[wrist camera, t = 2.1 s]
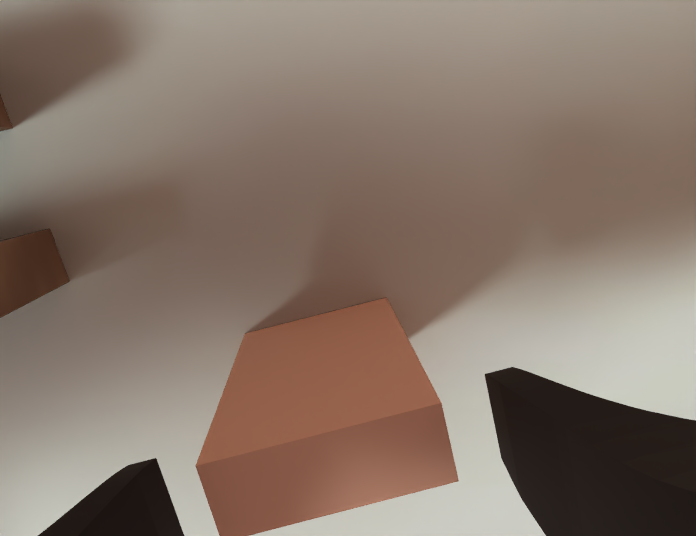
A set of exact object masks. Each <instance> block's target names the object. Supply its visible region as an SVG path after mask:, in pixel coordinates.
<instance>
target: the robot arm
mask: <svg viewBox="0 0 696 536" xmlns="http://www.w3.org/2000/svg"><path fill="white" fill-rule="evenodd" d="M485 378H486V383H487V388H488V393H489V398H490V403H491V408H492V413H493V418H494V423H495V428H496V433H497V438H498V443H499V448H500V453H501V458H502V460H503V462H504V464H505V466H506V468H507V470H508V473H509V475H510V477H511V479H512V481H513V483H514V485H515V487H516V489H517V491H518V493H519V495H520V497H521V498H522V500H523V501H524V503H525V505H526V506H527V508H528V509H529V511H530V512H531V514H532V515H533V517H534V518H535V520H536V521H537V523H538V524H539V526H540V527H541V529H542V530H543V532H544V533H545V535H546V536H696V421H695V420H689V419H683V418H678V417H674V416H669V415H664V414H659V413H655V412H650V411H646V410H642V409H638V408H634V407H630V406H626V405H623V404H620V403H616V402H613V401H609V400H606V399H603V398H599V397H596V396H593V395H590V394H587V393H584V392H581V391H578V390H576V389H573V388H570V387H567V386H565V385H562V384H559V383H556V382H554V381H551V380H548V379H546V378H543V377H541V376H538V375H535V374H532V373H530V372H527V371H524V370H521V369H518V368H514V367H511V368H507V369H503V370H499V371H495V372H491V373H487V374H485ZM38 536H184V534H183V531H182V529H181V526H180V523H179V520H178V517H177V515H176V512H175V509H174V506H173V504H172V501H171V498H170V495H169V493H168V490H167V487H166V484H165V481H164V479H163V476H162V473H161V470H160V468H159V465H158V462H157V459H156V458H155V459H151V460H147V461H143V462H139V463H135V464H131V465H128V466H126V467H125V468H123V469H121V470H120V471H118V472H117V473H115V474H114V475H113V476H111V477H110V478H109V479H107V480H106V481H105V482H104V483H102V484H101V485H100V486H99V487H97V488H96V489H95V490H94V491H92V492H91V493H90V494H89V495H87V496H86V497H85V498H84V499H83V500H81V501H80V502H79V503H78V504H76V505H75V506H74V507H73V508H72V509H70V510H69V511H68V512H67V513H66V514H64V515H63V516H62V517H61V518H59V519H58V520H57V521H56V522H55V523H53V524H52V525H51V526H50V527H48V528H47V529H46V530H45V531H43V532H42V533H41V534H40V535H38Z"/></svg>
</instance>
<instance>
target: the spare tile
mask: <svg viewBox="0 0 696 536" xmlns="http://www.w3.org/2000/svg"><path fill="white" fill-rule="evenodd" d="M196 468H197V471H198V474H199V477H200V480H201V483H202V486H203V489H204V492H205V494H206V497H207V500H208V503H209V506H210V509H211V512H212V515H213V518H214V521H215V524H216V526H217V529H218V532H219V535H220V536H248V535H252V534H256V533H260V532H264V531H268V530H272V529H276V528H279V527H283V526H287V525H291V524H295V523H299V522H303V521H306V520H310V519H314V518H318V517H322V516H326V515H330V514H333V513H337V512H341V511H345V510H349V509H353V508H357V507H361V506H364V505H368V504H372V503H376V502H380V501H384V500H388V499H391V498H395V497H399V496H403V495H407V494H411V493H415V492H418V491H422V490H426V489H430V488H434V487H438V486H442V485H445V484H449V483H453V482H457V481H459V480H458V476H457V471H456V467H455V462H454V458H453V453H452V449H451V444H450V440H449V435H448V431H447V426H446V422H445V417H444V413H443V408H442V404H441V401H440V400H439V398H438V396H437V394H436V392H435V390H434V388H433V386H432V384H431V382H430V380H429V378H428V376H427V375H426V373H425V371H424V369H423V367H422V365H421V363H420V361H419V359H418V357H417V355H416V353H415V351H414V350H413V348H412V346H411V344H410V342H409V340H408V338H407V336H406V334H405V332H404V330H403V328H402V326H401V325H400V323H399V321H398V319H397V317H396V315H395V313H394V311H393V309H392V307H391V305H390V303H389V301H388V300H387V298H383V299H379V300H375V301H371V302H367V303H363V304H359V305H355V306H351V307H347V308H343V309H339V310H335V311H331V312H328V313H324V314H320V315H316V316H312V317H308V318H304V319H300V320H296V321H292V322H288V323H284V324H280V325H276V326H272V327H268V328H264V329H261V330H257V331H253V332H249V333H245V335H244V337H243V340H242V343H241V345H240V348H239V351H238V354H237V356H236V359H235V362H234V364H233V367H232V370H231V372H230V375H229V378H228V380H227V383H226V386H225V388H224V391H223V394H222V397H221V399H220V402H219V405H218V407H217V410H216V413H215V415H214V418H213V421H212V423H211V426H210V429H209V432H208V434H207V437H206V440H205V442H204V445H203V448H202V450H201V453H200V456H199V458H198V461H197V464H196Z"/></svg>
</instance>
